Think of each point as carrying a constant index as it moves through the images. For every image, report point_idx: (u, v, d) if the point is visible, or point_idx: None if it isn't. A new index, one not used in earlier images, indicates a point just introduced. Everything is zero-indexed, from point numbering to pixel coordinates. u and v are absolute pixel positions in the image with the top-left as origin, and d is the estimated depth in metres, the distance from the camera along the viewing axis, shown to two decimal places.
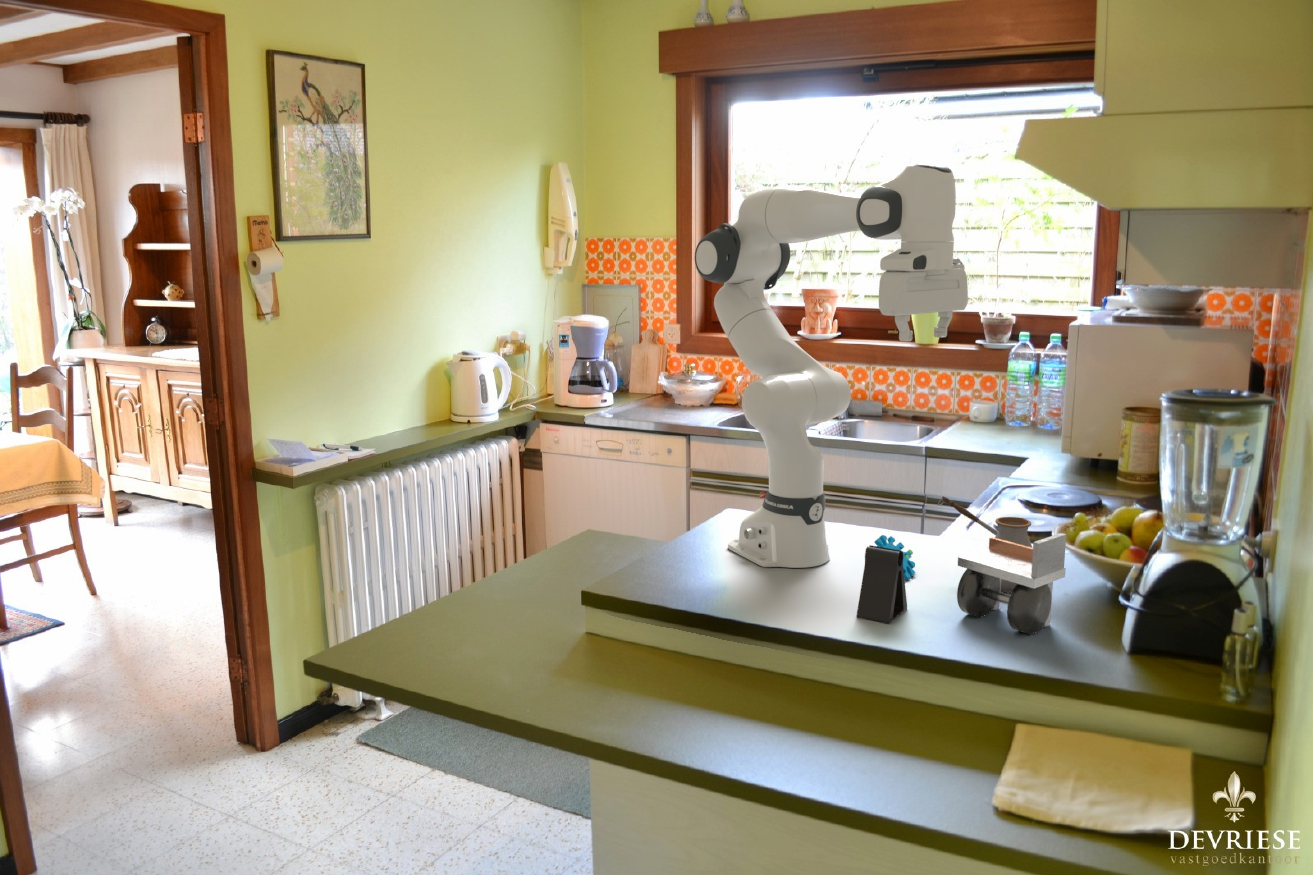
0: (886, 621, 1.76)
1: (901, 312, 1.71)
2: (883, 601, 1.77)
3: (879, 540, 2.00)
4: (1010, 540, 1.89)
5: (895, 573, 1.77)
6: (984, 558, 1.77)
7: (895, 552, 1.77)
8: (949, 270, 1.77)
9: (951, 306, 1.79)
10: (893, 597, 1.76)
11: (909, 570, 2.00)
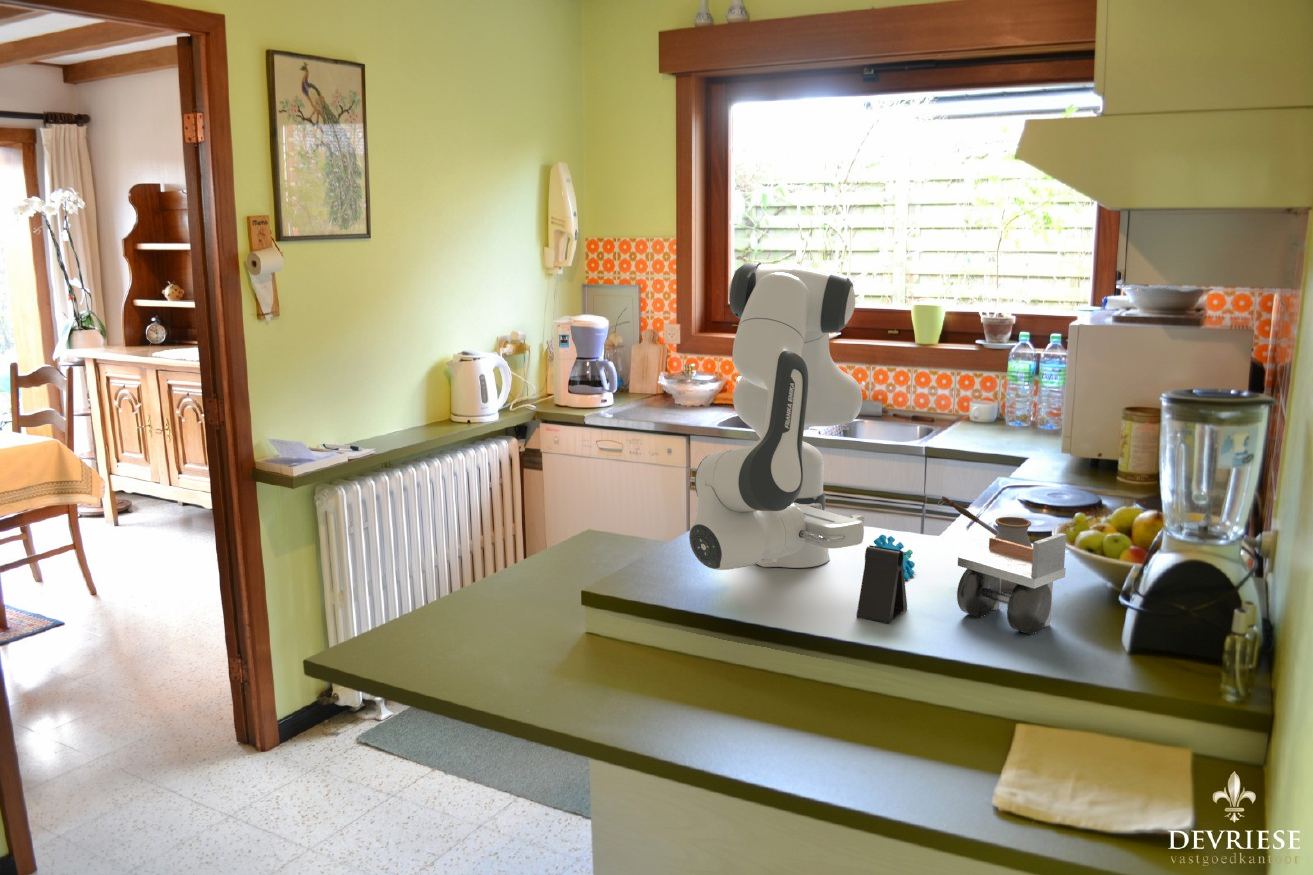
0: (886, 621, 1.76)
1: None
2: (883, 601, 1.77)
3: (878, 540, 2.00)
4: (1010, 540, 1.89)
5: (895, 573, 1.77)
6: (984, 558, 1.77)
7: (895, 552, 1.77)
8: (807, 542, 1.60)
9: None
10: (893, 597, 1.76)
11: (908, 570, 2.00)
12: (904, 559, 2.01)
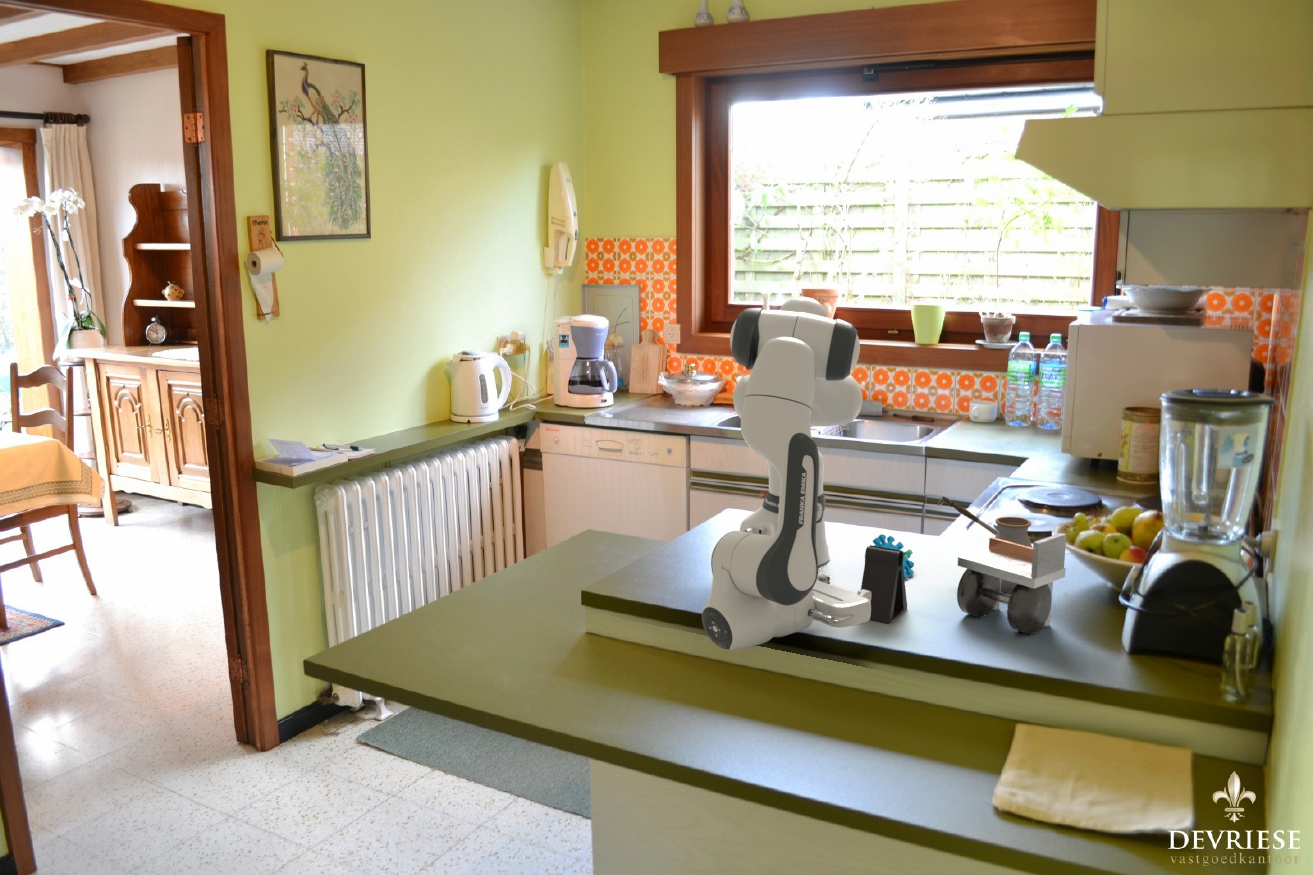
0: (886, 621, 1.76)
1: None
2: (883, 601, 1.77)
3: (877, 539, 2.00)
4: (1010, 540, 1.89)
5: (895, 573, 1.77)
6: (984, 558, 1.77)
7: (895, 552, 1.77)
8: (816, 619, 1.64)
9: None
10: (893, 597, 1.76)
11: (907, 570, 2.00)
12: (903, 559, 2.01)
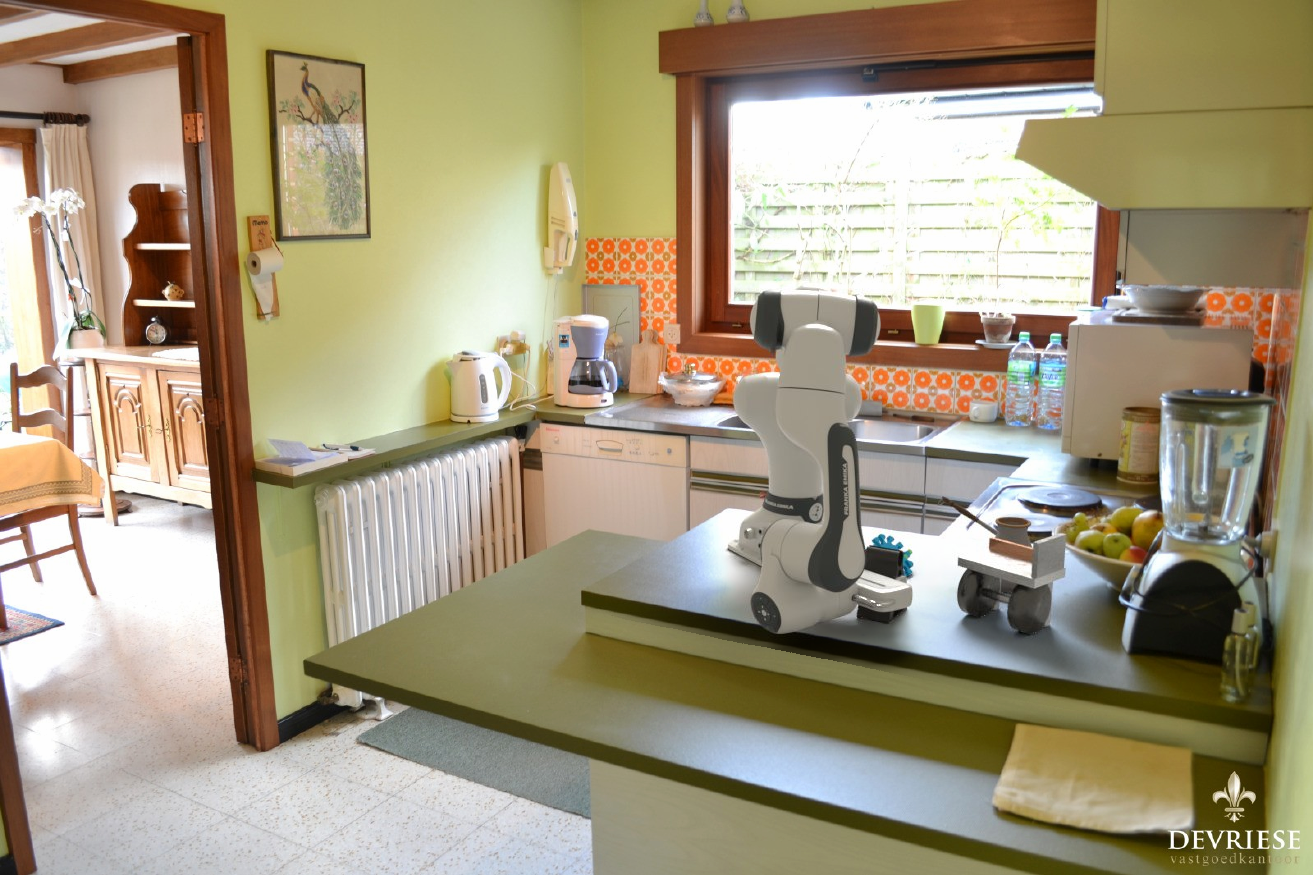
0: (886, 621, 1.76)
1: None
2: None
3: (876, 539, 2.01)
4: (1010, 540, 1.89)
5: (895, 573, 1.77)
6: (984, 558, 1.77)
7: (895, 552, 1.77)
8: None
9: None
10: None
11: (906, 569, 2.00)
12: None
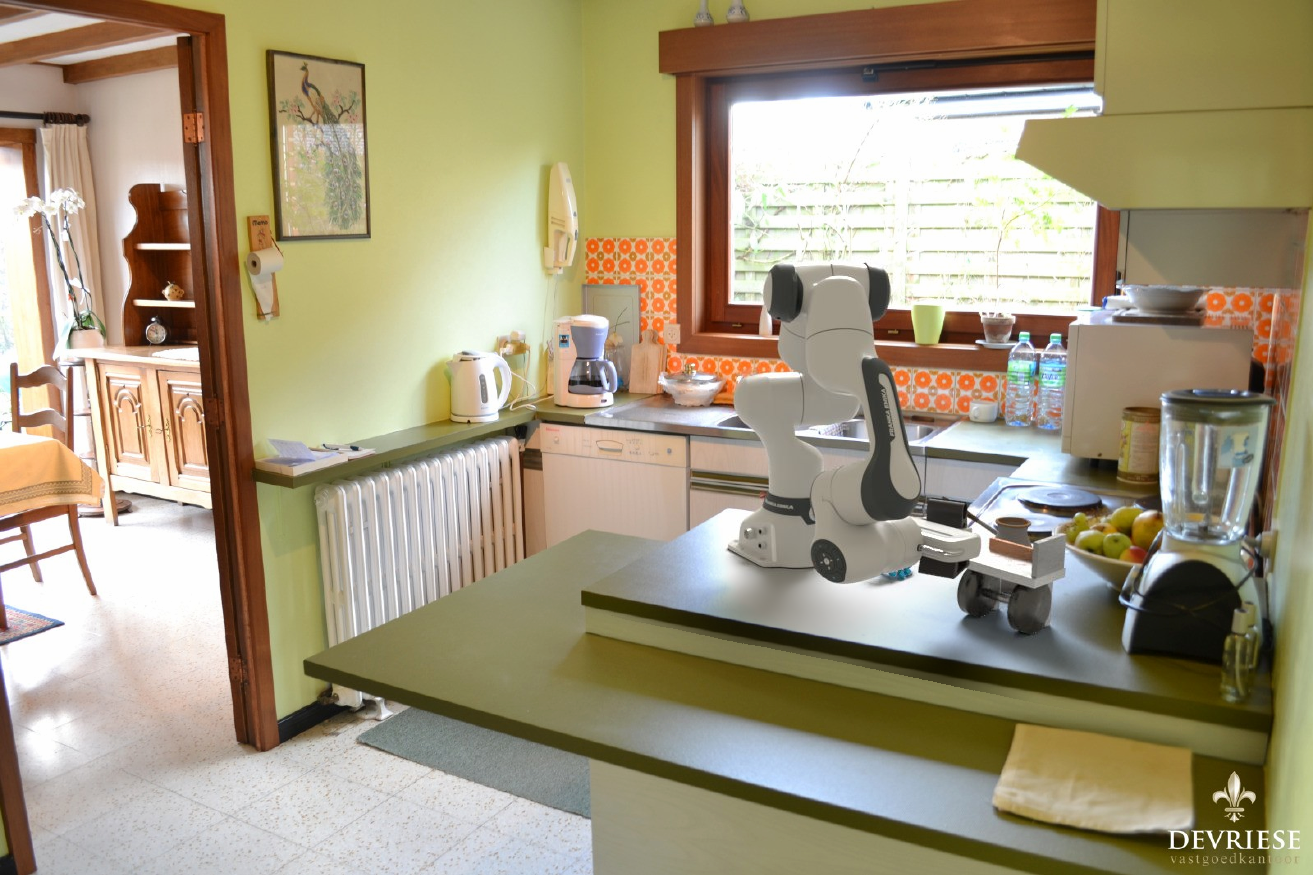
0: (950, 576, 1.67)
1: None
2: None
3: None
4: (1010, 540, 1.89)
5: (960, 526, 1.67)
6: (984, 558, 1.77)
7: (960, 503, 1.68)
8: (924, 555, 1.61)
9: None
10: None
11: (905, 569, 2.00)
12: None
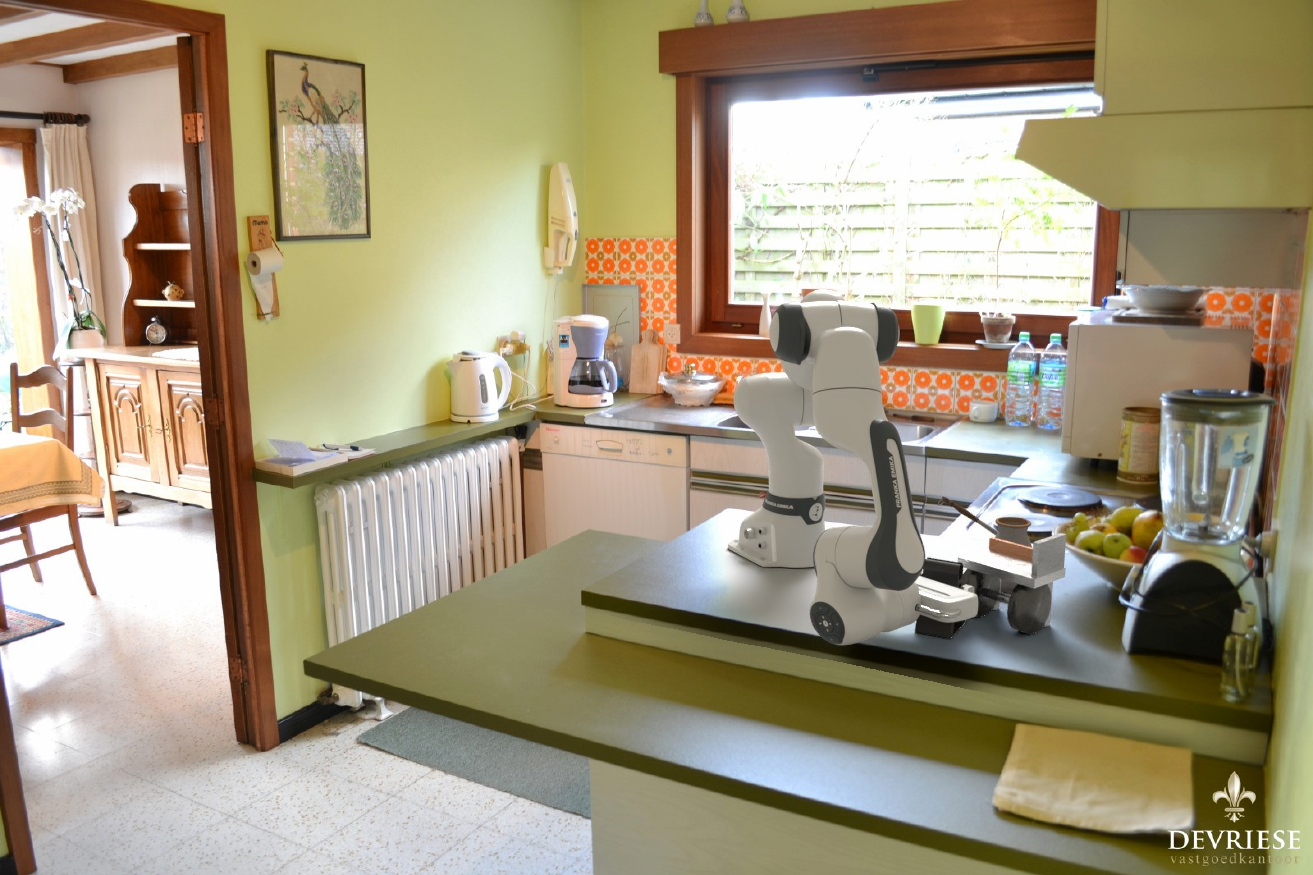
0: (947, 637, 1.69)
1: None
2: None
3: None
4: (1010, 540, 1.89)
5: (956, 586, 1.70)
6: (984, 558, 1.77)
7: (955, 565, 1.70)
8: None
9: None
10: None
11: None
12: None
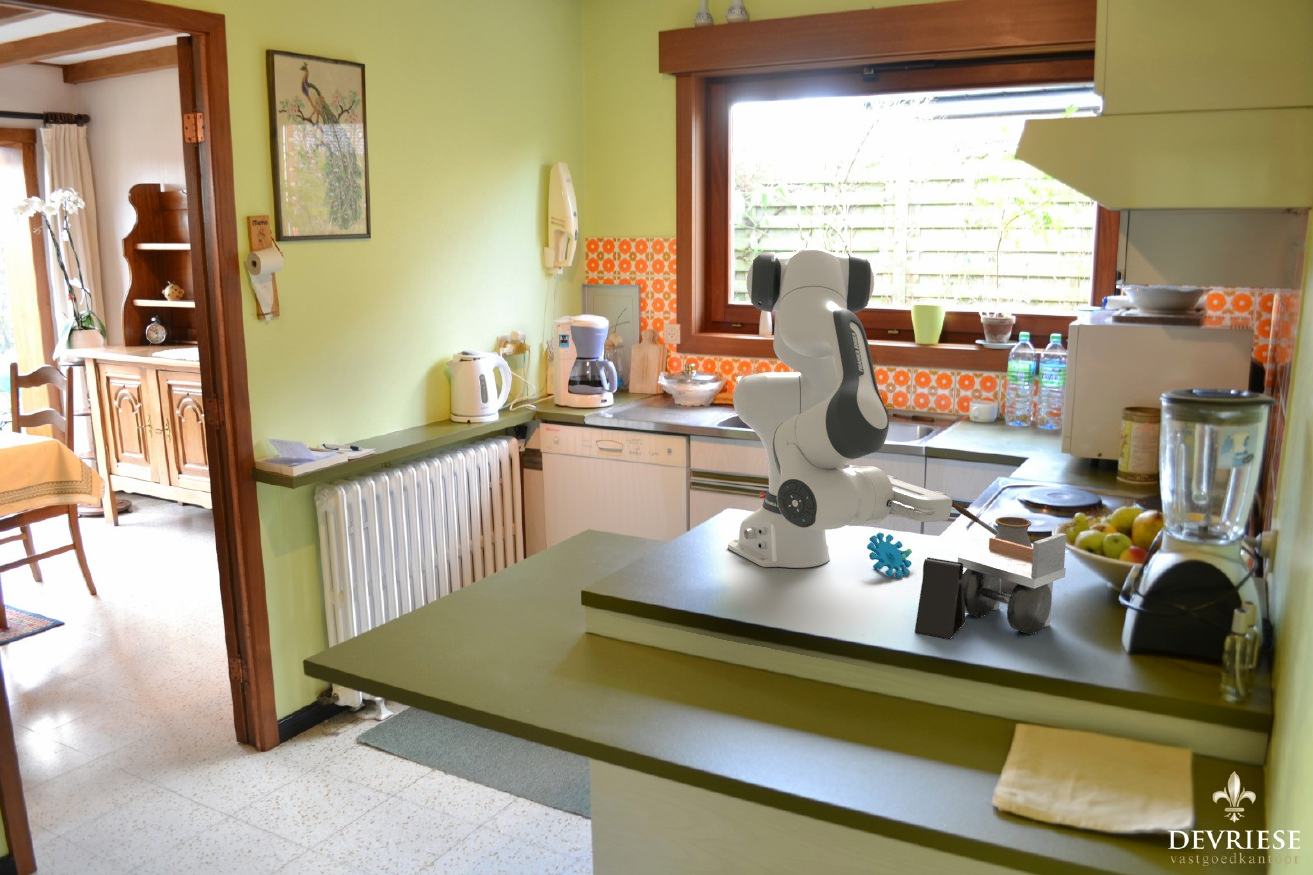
0: (947, 637, 1.69)
1: None
2: (943, 616, 1.70)
3: (874, 537, 2.02)
4: (1010, 540, 1.89)
5: (956, 586, 1.70)
6: (984, 558, 1.77)
7: (955, 565, 1.70)
8: (892, 512, 1.54)
9: None
10: (954, 611, 1.69)
11: (903, 569, 2.00)
12: (900, 558, 2.02)
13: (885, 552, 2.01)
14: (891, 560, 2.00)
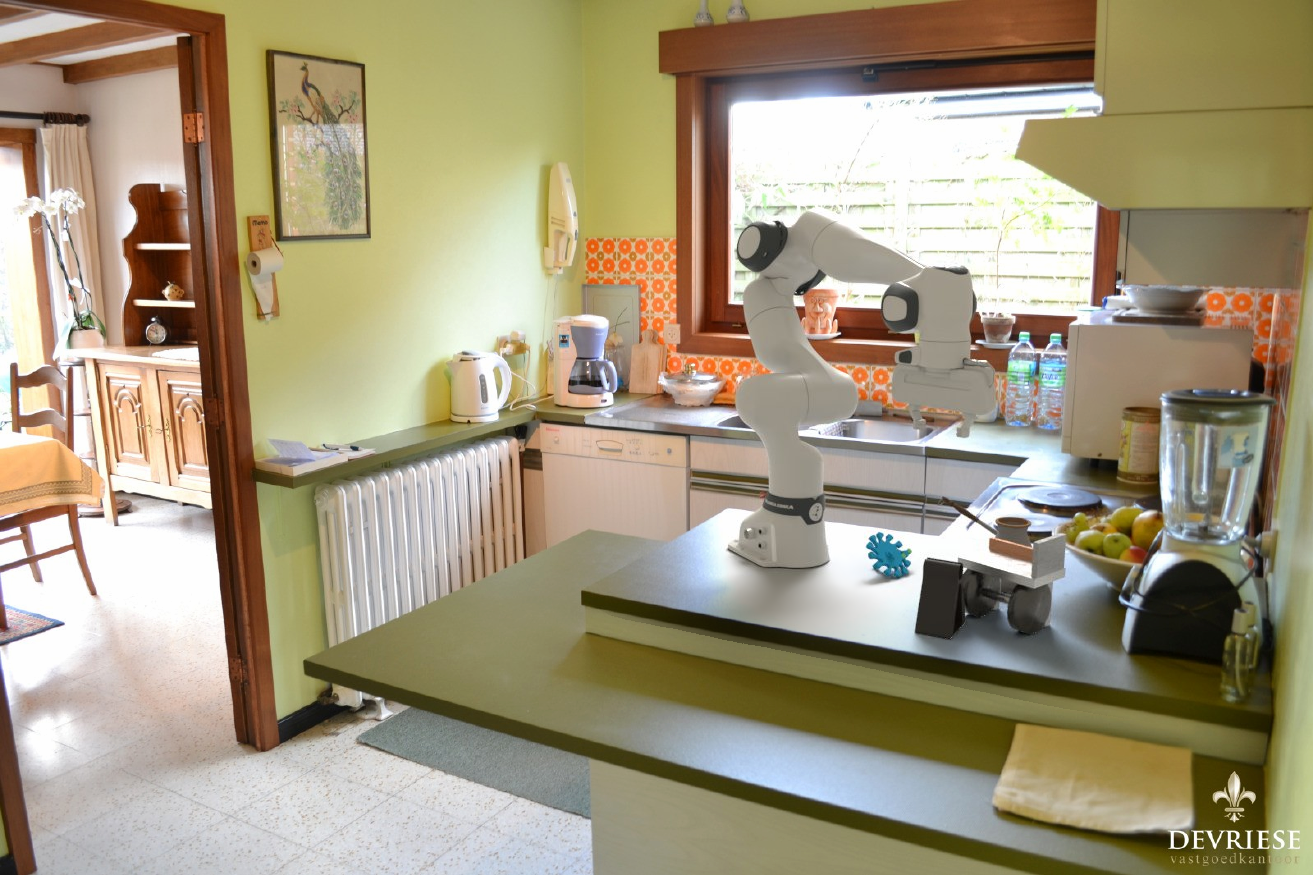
0: (947, 637, 1.69)
1: (898, 400, 1.86)
2: (943, 616, 1.70)
3: (873, 537, 2.02)
4: (1010, 540, 1.89)
5: (956, 586, 1.70)
6: (984, 558, 1.77)
7: (955, 565, 1.70)
8: (957, 370, 1.75)
9: (959, 408, 1.76)
10: (954, 611, 1.69)
11: (902, 568, 2.01)
12: (899, 557, 2.02)
13: (884, 552, 2.01)
14: (889, 560, 2.00)
